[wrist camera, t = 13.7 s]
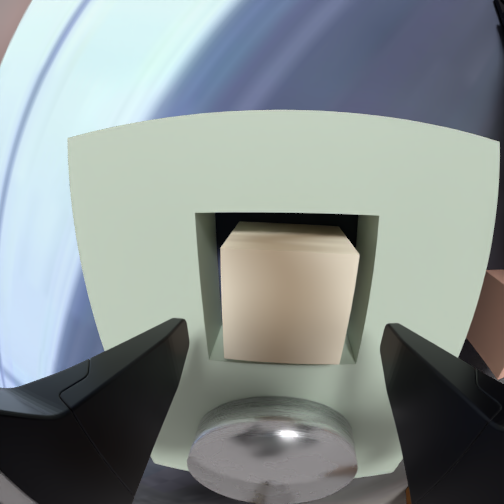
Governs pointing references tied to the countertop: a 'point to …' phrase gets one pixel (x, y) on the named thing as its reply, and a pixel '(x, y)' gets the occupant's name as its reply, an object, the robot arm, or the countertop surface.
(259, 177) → the pocket deck
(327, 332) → the birch cube
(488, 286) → the terracotta cube
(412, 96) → the countertop surface
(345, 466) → the metal puck
